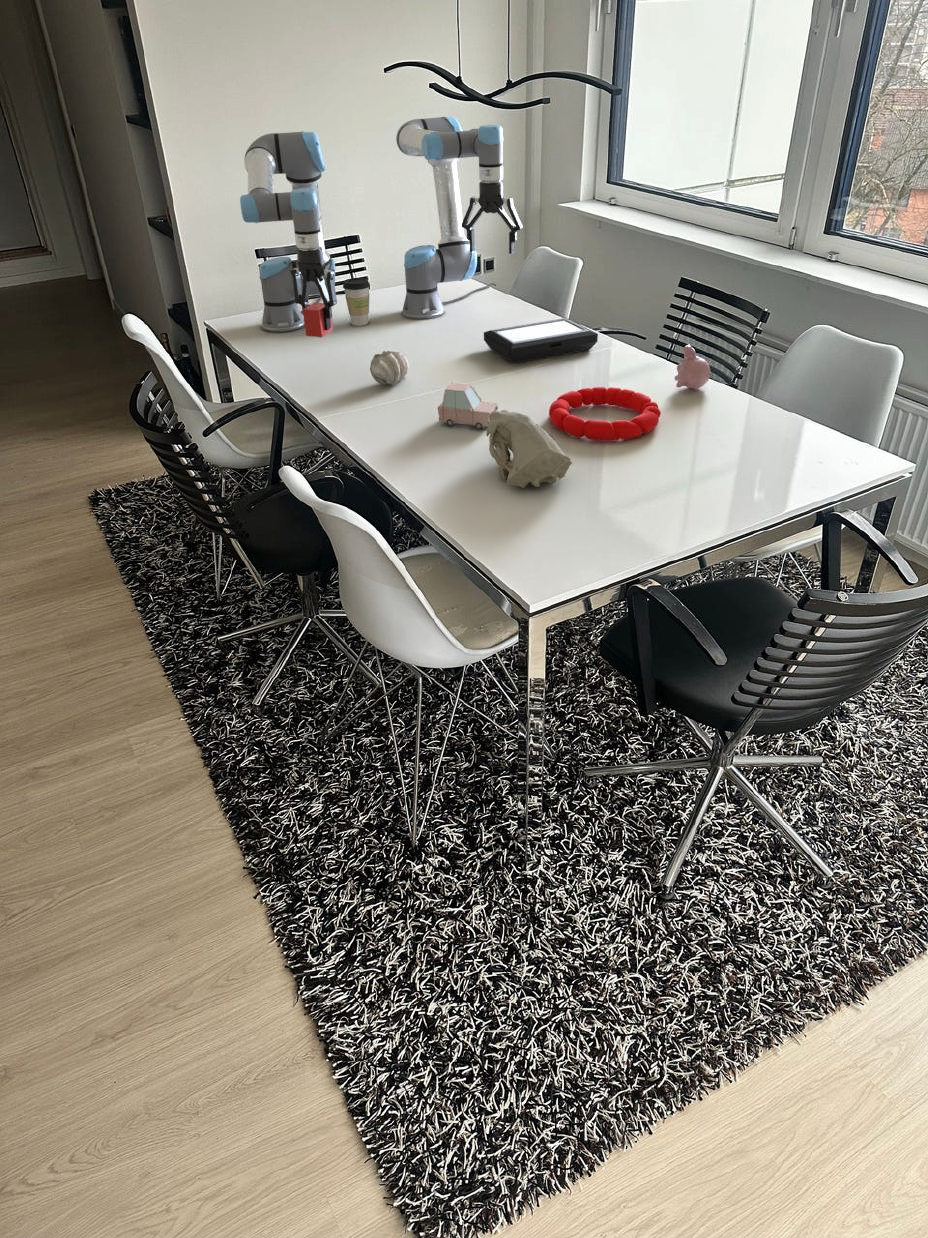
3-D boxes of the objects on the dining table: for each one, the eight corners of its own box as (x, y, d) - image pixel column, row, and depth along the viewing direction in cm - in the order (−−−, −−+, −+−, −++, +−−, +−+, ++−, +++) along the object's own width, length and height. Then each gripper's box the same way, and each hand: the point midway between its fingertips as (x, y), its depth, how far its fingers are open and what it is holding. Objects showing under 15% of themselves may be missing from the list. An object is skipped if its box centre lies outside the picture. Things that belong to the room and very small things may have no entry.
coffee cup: (372, 326, 323) (368, 283, 314) (345, 327, 323) (340, 284, 315) (374, 318, 331) (371, 276, 322) (348, 319, 331) (344, 277, 323)
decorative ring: (589, 435, 224) (684, 402, 234) (527, 398, 247) (617, 369, 256) (589, 461, 229) (683, 427, 238) (529, 422, 251) (617, 393, 260)
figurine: (665, 387, 264) (669, 347, 257) (693, 380, 268) (698, 340, 261) (686, 396, 257) (690, 355, 250) (714, 388, 262) (720, 348, 255)
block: (305, 335, 271) (302, 309, 266) (317, 328, 277) (314, 302, 272) (321, 337, 270) (318, 310, 265) (333, 329, 275) (330, 303, 271)
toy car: (488, 432, 240) (488, 396, 234) (436, 426, 244) (434, 390, 239) (499, 419, 247) (499, 384, 241) (448, 413, 252) (447, 379, 246)
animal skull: (496, 517, 219) (521, 479, 201) (463, 429, 225) (484, 384, 207) (557, 503, 225) (586, 465, 206) (523, 417, 231) (549, 373, 212)
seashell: (362, 383, 274) (359, 351, 268) (406, 374, 280) (403, 342, 274) (376, 393, 267) (373, 360, 261) (420, 383, 272) (418, 351, 267)
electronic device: (510, 346, 280) (483, 329, 295) (510, 365, 283) (483, 348, 299) (598, 331, 290) (567, 315, 305) (597, 350, 294) (567, 334, 309)
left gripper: (275, 249, 259) (286, 329, 272) (332, 252, 254) (341, 333, 267) (287, 243, 265) (298, 322, 278) (343, 246, 259) (351, 326, 273)
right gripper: (450, 181, 283) (452, 252, 295) (525, 183, 275) (524, 256, 287) (457, 177, 288) (460, 247, 300) (532, 179, 281) (531, 250, 293)
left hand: (319, 327), depth 272 cm, fingers closed on block, 5 cm apart
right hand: (491, 251), depth 294 cm, fingers open, 13 cm apart
